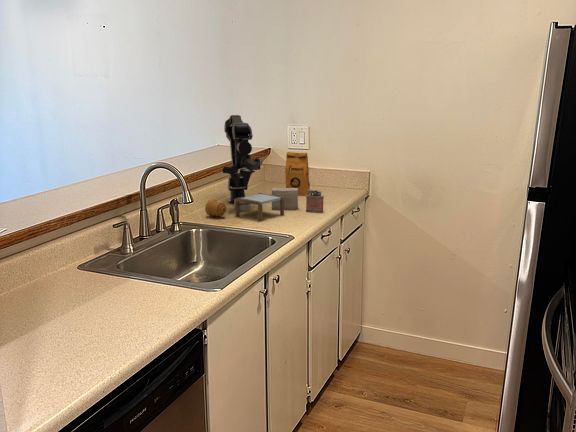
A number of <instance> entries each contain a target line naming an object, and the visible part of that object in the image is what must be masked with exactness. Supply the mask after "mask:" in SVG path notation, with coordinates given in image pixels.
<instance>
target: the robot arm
mask: <svg viewBox="0 0 576 432" xmlns="http://www.w3.org/2000/svg"><path fill="white" fill-rule="evenodd" d="M223 131H224V133H225V136H226V137H225V138H226V139H227V140H228V142H229V147H230V157H231V158H230V159H231V165H225V166H223V167H222V173H223V174H227V175H228V174H229V177H228V180H227V189H228V191H229V192H230V200H228V201H227V202H228V203H230V204H234V199H236V198H240V197H246V194H245V191H247V190H248V185H249V181H250V180H251V179H250V178H251V176H252V174H254V173H255V172H256V171H257V170H261V159H260V157H257V158H252V157H251V152H252V150H253V147H252V144H251V143H250V142H249V140H253V136H254V135H253V130H252V128H251V126H250V124H249V123H247V122H244V121H243V120H242V116H241V115H239V114H233V115H232V114H231V115H229V118H228V119H226V120H225V121H224V130H223Z"/></svg>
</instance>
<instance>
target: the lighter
mask: <svg viewBox="0 0 576 432" xmlns="http://www.w3.org/2000/svg"><path fill="white" fill-rule="evenodd" d="M308 193H310V194H308V195H306V196H305V198H306V199H305V200H306V203H305V206H306V207H305V209H306V210H305V212H306V213H313V214H323V213H324V198H325V196H324V195H322V191H321V190H318V189H315V190H314V189H310V190H308Z"/></svg>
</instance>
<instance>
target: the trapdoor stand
mask: <svg viewBox="0 0 576 432" xmlns="http://www.w3.org/2000/svg"><path fill="white" fill-rule="evenodd" d="M257 194H264V195H269V196H275V195H272V194H270V193H269V194H268V193H262V192H259V193H257ZM275 197H280V196H275ZM240 202H241V203H240ZM246 204H250V205H254V206H257V216H258V217H257V222H260V223H261V222H263V204H262V202H258V201H253V200H247V199H242V198H236V210H235V217H237V218H239V217H240V216H241V213H240V212H241V211H240V206H242V205H246ZM279 212H280V213H279V215H280V217H282V216H285V209H284V197H281V200H280V209H279Z"/></svg>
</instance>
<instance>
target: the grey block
mask: <svg viewBox="0 0 576 432" xmlns="http://www.w3.org/2000/svg"><path fill="white" fill-rule="evenodd" d="M271 195H275V196H280V197H284V210H298V209H299V196H298V188H286V187H272V188H271ZM271 210H280V200H278V201H274V202H271Z"/></svg>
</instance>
